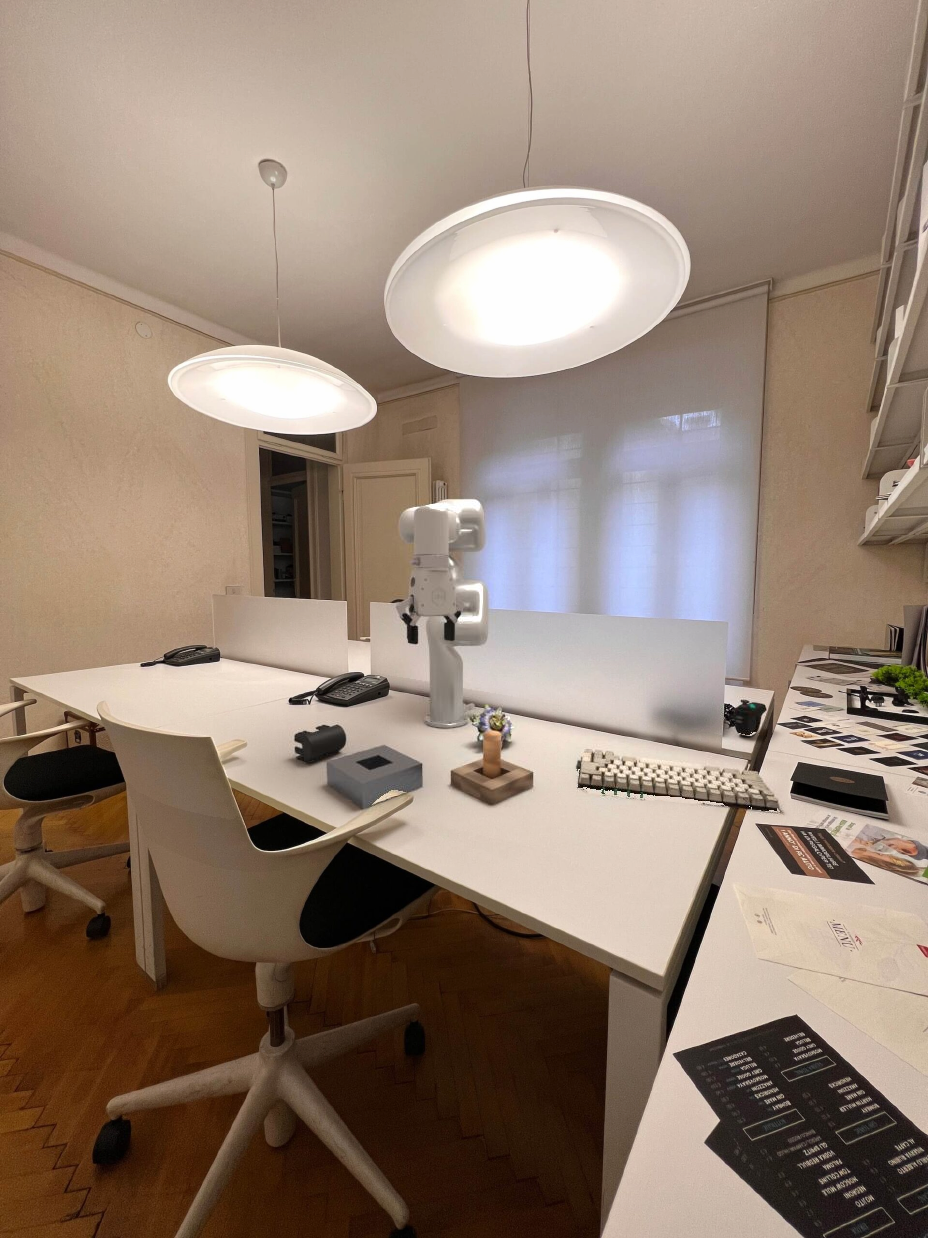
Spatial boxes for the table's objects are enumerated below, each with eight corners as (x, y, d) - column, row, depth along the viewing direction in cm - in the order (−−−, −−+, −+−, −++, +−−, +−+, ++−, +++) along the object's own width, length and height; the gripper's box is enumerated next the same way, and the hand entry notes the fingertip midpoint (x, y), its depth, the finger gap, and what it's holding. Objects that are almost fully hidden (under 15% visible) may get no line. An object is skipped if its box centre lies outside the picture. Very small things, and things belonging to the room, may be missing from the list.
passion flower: (498, 769, 124) (482, 740, 117) (470, 749, 132) (454, 720, 125) (527, 738, 128) (514, 707, 121) (499, 720, 136) (485, 690, 129)
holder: (491, 768, 112) (491, 755, 111) (533, 786, 103) (533, 772, 102) (450, 784, 104) (450, 770, 103) (492, 805, 95) (492, 789, 94)
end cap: (312, 767, 112) (311, 738, 112) (293, 760, 116) (292, 732, 116) (347, 753, 120) (346, 726, 119) (328, 747, 124) (327, 721, 124)
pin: (491, 779, 106) (492, 729, 104) (504, 785, 103) (504, 733, 102) (479, 785, 103) (479, 733, 102) (491, 790, 101) (492, 738, 99)
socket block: (384, 766, 113) (384, 744, 112) (422, 786, 102) (422, 763, 102) (327, 784, 103) (326, 761, 103) (362, 809, 93) (362, 783, 92)
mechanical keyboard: (755, 777, 109) (756, 762, 108) (786, 821, 90) (787, 803, 90) (577, 759, 119) (577, 746, 118) (573, 796, 100) (573, 780, 100)
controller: (729, 737, 131) (731, 700, 130) (750, 728, 139) (752, 693, 137) (746, 742, 128) (749, 704, 127) (767, 732, 135) (769, 696, 134)
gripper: (406, 562, 101) (406, 647, 102) (473, 564, 111) (472, 640, 113) (387, 563, 107) (388, 643, 108) (452, 565, 117) (452, 637, 119)
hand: (431, 642), depth 110 cm, fingers open, 9 cm apart
